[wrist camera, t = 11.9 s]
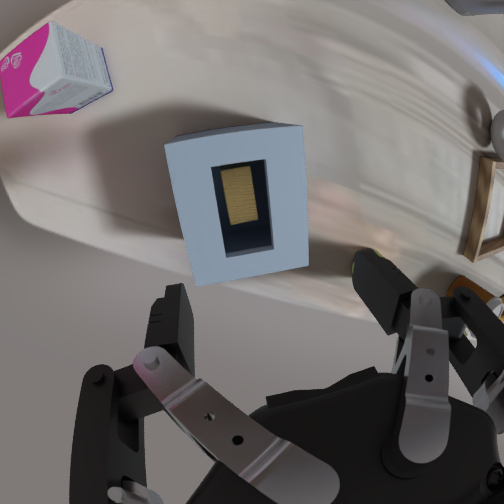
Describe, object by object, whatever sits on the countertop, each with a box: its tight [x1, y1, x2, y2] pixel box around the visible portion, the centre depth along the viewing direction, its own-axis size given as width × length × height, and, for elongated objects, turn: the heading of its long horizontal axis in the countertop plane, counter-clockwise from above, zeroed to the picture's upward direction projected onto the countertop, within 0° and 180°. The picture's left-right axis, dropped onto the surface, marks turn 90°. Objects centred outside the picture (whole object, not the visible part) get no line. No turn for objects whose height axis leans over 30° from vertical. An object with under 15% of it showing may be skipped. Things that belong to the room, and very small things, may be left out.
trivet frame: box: [464, 157, 504, 263], centre depth 36 cm, size 19×18×3 cm
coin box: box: [164, 122, 309, 286], centre depth 25 cm, size 12×10×9 cm
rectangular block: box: [219, 162, 258, 225], centre depth 26 cm, size 5×2×5 cm
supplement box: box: [0, 21, 113, 118], centre depth 15 cm, size 6×6×12 cm
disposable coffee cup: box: [447, 276, 504, 338], centre depth 40 cm, size 10×10×12 cm
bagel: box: [499, 296, 504, 321], centre depth 55 cm, size 10×11×5 cm
